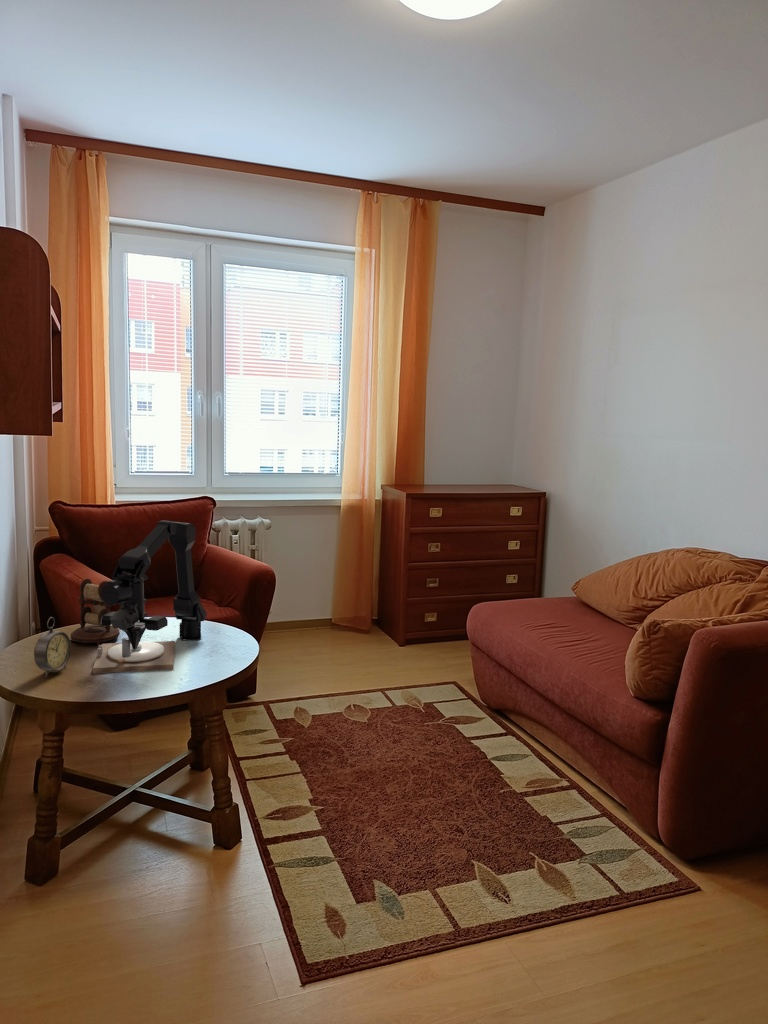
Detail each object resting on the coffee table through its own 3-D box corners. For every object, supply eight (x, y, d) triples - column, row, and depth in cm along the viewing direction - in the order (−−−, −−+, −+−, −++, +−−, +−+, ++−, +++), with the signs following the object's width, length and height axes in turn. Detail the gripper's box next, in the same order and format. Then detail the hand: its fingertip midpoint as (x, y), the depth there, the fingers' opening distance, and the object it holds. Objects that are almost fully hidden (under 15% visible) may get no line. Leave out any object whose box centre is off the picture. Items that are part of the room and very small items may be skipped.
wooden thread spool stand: (129, 636, 238) (128, 577, 236) (100, 649, 224) (99, 587, 221) (91, 630, 242) (90, 572, 239) (60, 643, 228) (59, 582, 225)
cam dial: (125, 642, 226) (125, 623, 226) (173, 646, 224) (173, 627, 223) (94, 660, 209) (94, 640, 208) (146, 665, 207) (146, 645, 206)
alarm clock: (47, 680, 197) (46, 623, 195) (30, 678, 198) (29, 621, 196) (72, 667, 208) (71, 613, 206) (56, 665, 209) (55, 611, 207)
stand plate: (175, 645, 231) (175, 633, 230) (173, 669, 210) (173, 656, 209) (102, 648, 225) (101, 636, 225) (92, 673, 204) (92, 659, 204)
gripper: (87, 601, 203) (89, 654, 205) (146, 606, 198) (147, 661, 200) (111, 592, 214) (113, 643, 216) (168, 597, 209) (169, 649, 211)
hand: (135, 649), depth 210 cm, fingers closed
